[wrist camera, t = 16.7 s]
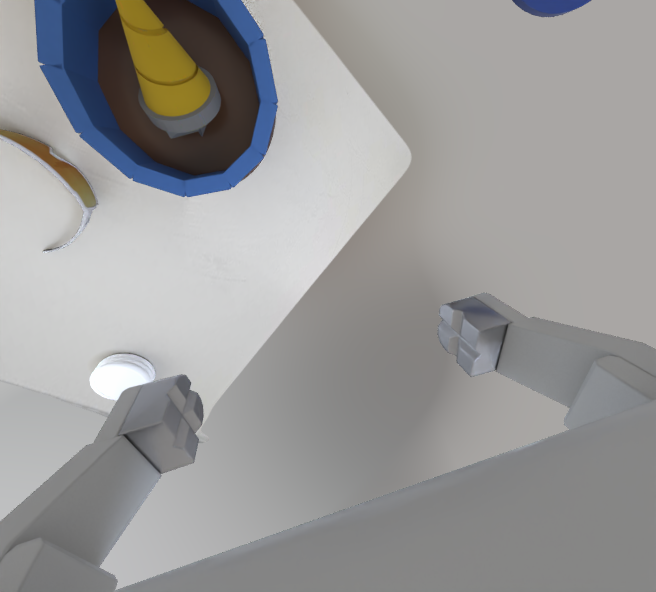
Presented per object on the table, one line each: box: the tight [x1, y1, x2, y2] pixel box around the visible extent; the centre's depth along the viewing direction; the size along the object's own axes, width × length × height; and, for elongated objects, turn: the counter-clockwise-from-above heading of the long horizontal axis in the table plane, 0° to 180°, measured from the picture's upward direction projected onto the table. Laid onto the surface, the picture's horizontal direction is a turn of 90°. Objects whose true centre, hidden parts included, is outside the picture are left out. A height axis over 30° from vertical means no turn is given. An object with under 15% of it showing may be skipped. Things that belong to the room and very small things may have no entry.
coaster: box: [90, 354, 155, 401], centre depth 52 cm, size 10×10×4 cm
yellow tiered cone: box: [115, 0, 221, 139], centre depth 17 cm, size 5×5×10 cm
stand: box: [98, 0, 276, 181], centre depth 29 cm, size 14×14×20 cm
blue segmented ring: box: [34, 0, 278, 197], centre depth 19 cm, size 13×13×4 cm
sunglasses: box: [0, 129, 98, 253], centre depth 35 cm, size 14×15×5 cm
